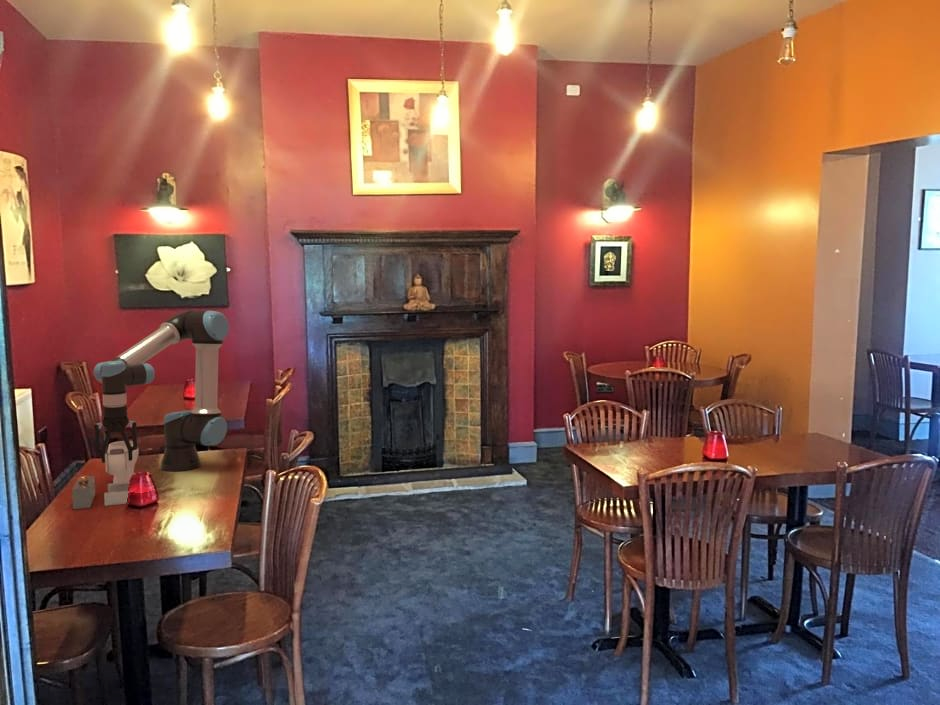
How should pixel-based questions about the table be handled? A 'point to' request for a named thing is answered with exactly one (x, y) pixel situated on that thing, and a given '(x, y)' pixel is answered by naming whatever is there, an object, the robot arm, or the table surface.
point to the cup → (135, 453)
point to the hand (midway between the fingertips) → (117, 470)
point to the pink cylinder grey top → (117, 462)
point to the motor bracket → (86, 493)
